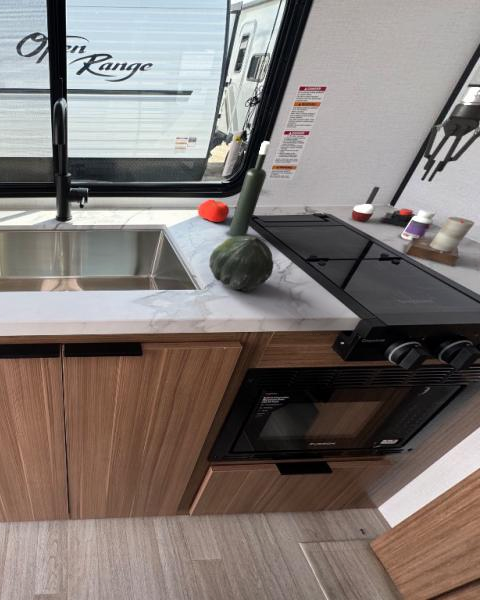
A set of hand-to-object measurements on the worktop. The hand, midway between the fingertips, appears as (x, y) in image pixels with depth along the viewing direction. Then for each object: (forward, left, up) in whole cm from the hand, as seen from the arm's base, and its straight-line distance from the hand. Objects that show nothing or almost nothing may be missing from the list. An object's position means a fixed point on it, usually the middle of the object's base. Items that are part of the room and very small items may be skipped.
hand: (425, 180), depth 116 cm
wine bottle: (+42, +56, -17) cm, 72 cm away
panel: (-9, +28, -16) cm, 34 cm away
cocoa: (+12, +7, -17) cm, 22 cm away
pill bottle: (-4, +15, -17) cm, 23 cm away
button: (0, 0, -13) cm, 13 cm away
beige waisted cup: (-11, +28, -13) cm, 33 cm away
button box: (0, 0, -16) cm, 16 cm away
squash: (+30, +89, -17) cm, 95 cm away
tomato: (+55, +48, -17) cm, 75 cm away
